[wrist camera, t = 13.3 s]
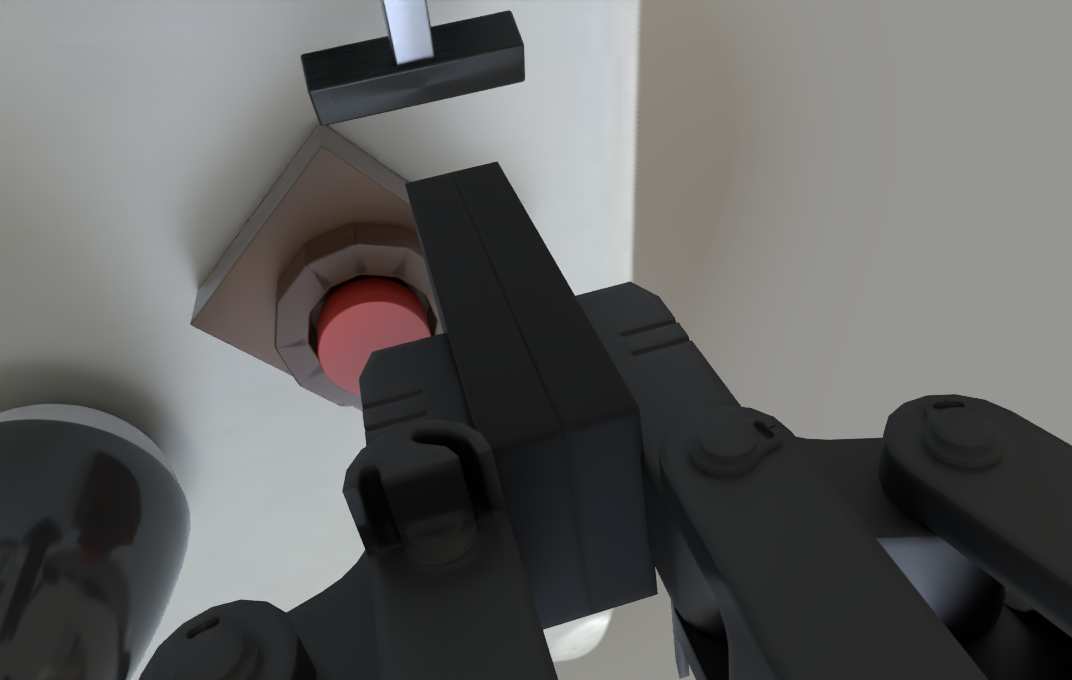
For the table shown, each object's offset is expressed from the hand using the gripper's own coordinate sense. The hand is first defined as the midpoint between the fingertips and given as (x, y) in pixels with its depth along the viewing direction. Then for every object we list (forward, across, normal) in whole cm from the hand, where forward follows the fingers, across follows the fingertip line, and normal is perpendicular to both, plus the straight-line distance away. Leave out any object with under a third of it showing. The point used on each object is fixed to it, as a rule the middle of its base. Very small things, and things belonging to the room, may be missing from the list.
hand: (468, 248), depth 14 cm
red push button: (+15, -3, -10) cm, 18 cm away
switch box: (+19, -3, -10) cm, 21 cm away
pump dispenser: (+19, -17, -15) cm, 30 cm away
